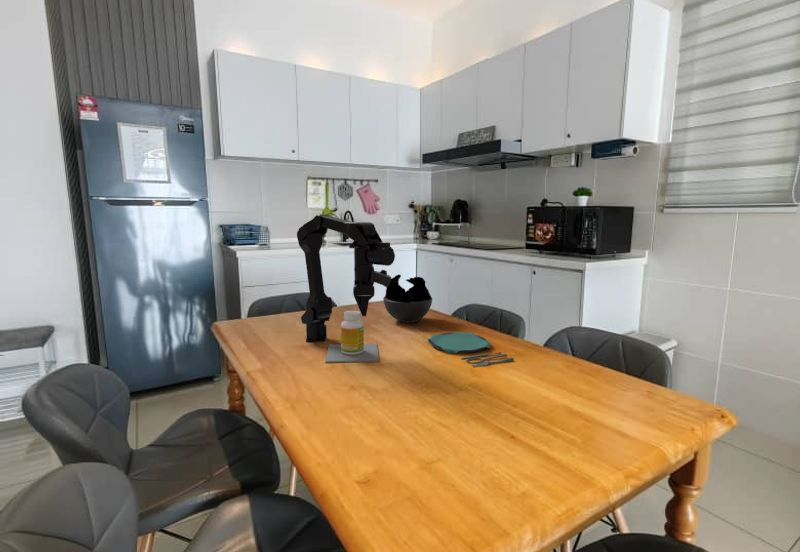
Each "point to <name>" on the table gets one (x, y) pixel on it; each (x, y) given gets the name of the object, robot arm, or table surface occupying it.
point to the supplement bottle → (352, 333)
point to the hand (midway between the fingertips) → (364, 312)
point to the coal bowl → (407, 299)
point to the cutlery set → (465, 346)
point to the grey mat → (366, 356)
